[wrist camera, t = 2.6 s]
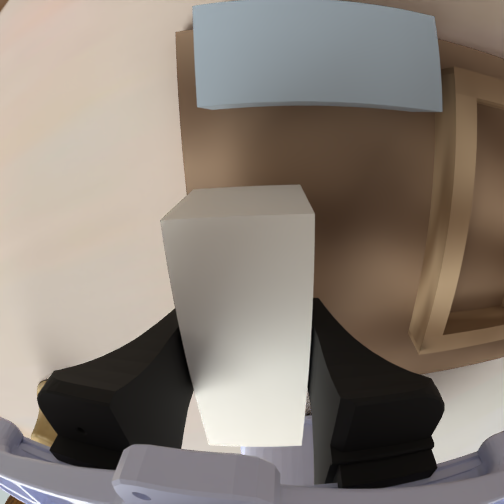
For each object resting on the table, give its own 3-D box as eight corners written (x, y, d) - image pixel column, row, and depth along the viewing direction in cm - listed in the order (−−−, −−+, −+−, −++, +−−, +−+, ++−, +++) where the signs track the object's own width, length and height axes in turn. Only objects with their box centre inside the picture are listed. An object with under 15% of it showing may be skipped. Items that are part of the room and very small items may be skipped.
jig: (501, 350, 18) (517, 372, 16) (216, 377, 20) (210, 408, 17) (548, 82, 11) (576, 83, 8) (180, 36, 12) (161, 20, 10)
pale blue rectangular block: (411, 111, 12) (442, 112, 9) (212, 109, 13) (197, 107, 10) (405, 32, 11) (434, 16, 8) (208, 27, 11) (192, 6, 9)
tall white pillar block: (296, 383, 15) (301, 445, 12) (220, 383, 16) (209, 445, 12) (299, 184, 12) (315, 213, 8) (193, 189, 12) (160, 220, 8)
